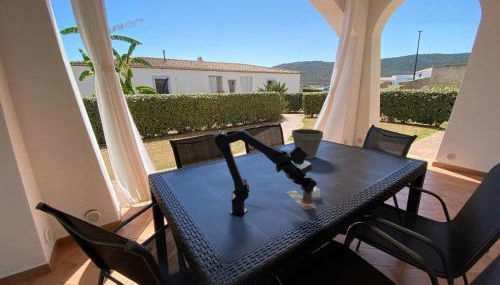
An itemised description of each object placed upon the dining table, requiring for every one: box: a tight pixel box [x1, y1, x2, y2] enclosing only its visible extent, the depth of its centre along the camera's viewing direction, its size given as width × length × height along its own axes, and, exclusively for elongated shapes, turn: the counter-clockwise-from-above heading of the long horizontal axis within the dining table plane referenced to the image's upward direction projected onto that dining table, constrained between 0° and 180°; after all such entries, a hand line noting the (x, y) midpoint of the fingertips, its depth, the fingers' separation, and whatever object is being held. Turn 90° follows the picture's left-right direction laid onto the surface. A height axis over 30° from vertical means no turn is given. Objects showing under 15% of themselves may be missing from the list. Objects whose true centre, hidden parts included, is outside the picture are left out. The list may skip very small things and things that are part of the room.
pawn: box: [301, 176, 314, 205], centre depth 106 cm, size 6×6×13 cm
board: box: [285, 190, 316, 211], centre depth 114 cm, size 20×9×1 cm, turn 19°
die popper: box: [312, 186, 322, 201], centre depth 116 cm, size 7×7×5 cm
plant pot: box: [291, 128, 324, 160], centre depth 182 cm, size 25×25×22 cm
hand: (310, 188), depth 107 cm, fingers closed on pawn, 4 cm apart
